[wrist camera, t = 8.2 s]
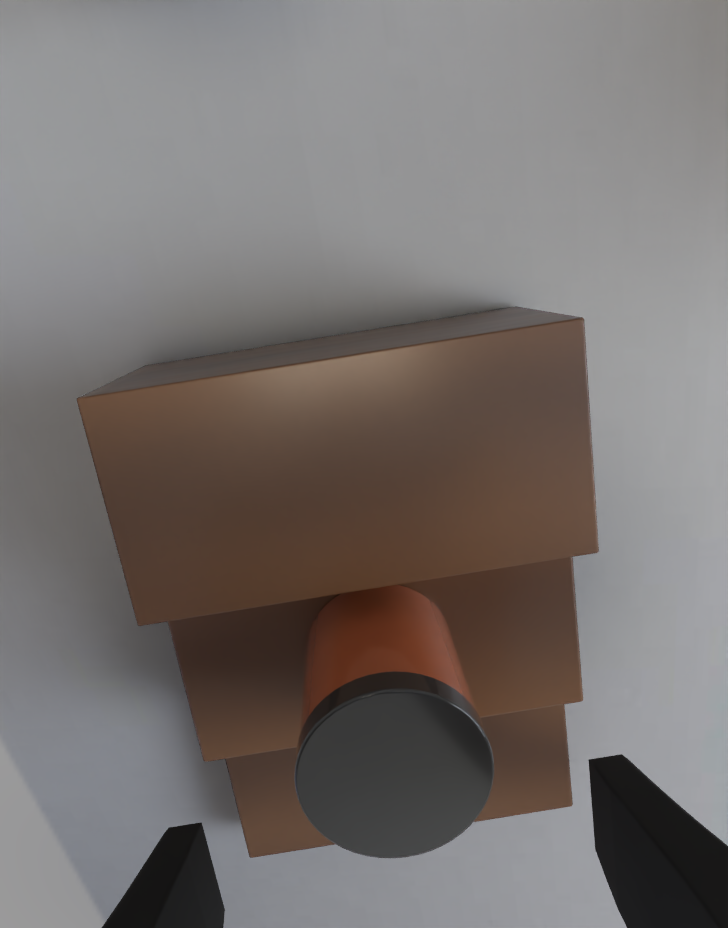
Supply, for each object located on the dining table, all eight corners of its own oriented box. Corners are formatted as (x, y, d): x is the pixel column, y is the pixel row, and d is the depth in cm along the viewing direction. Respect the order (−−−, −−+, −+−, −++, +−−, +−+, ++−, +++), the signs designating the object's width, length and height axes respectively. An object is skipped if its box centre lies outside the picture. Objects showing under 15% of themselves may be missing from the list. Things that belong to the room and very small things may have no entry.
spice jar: (295, 705, 19) (283, 851, 14) (313, 571, 18) (307, 679, 13) (439, 719, 19) (474, 867, 15) (465, 589, 18) (513, 700, 13)
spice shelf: (559, 775, 24) (622, 914, 19) (254, 824, 24) (232, 977, 19) (517, 306, 20) (584, 316, 15) (143, 365, 20) (75, 398, 14)
